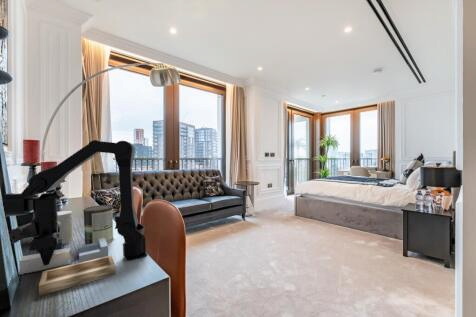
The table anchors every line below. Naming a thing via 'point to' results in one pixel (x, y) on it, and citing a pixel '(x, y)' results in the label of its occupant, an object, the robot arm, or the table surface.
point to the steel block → (36, 263)
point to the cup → (65, 226)
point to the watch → (59, 244)
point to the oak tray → (76, 274)
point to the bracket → (93, 250)
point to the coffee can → (98, 223)
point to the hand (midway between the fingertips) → (47, 262)
